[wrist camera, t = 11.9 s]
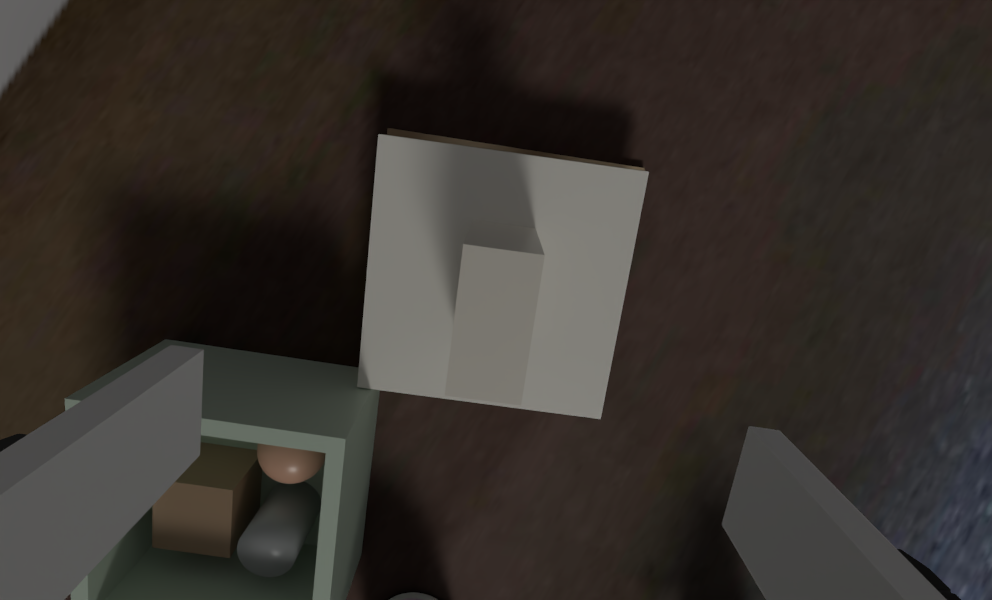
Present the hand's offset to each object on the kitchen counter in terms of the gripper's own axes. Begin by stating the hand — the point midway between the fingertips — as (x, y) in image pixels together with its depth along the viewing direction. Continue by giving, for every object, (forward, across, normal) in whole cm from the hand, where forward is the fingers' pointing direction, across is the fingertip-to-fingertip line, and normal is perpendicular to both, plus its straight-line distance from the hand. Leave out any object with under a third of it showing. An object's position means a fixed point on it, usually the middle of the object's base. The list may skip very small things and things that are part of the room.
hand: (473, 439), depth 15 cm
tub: (+19, -11, -12) cm, 25 cm away
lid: (+18, +1, 0) cm, 18 cm away
